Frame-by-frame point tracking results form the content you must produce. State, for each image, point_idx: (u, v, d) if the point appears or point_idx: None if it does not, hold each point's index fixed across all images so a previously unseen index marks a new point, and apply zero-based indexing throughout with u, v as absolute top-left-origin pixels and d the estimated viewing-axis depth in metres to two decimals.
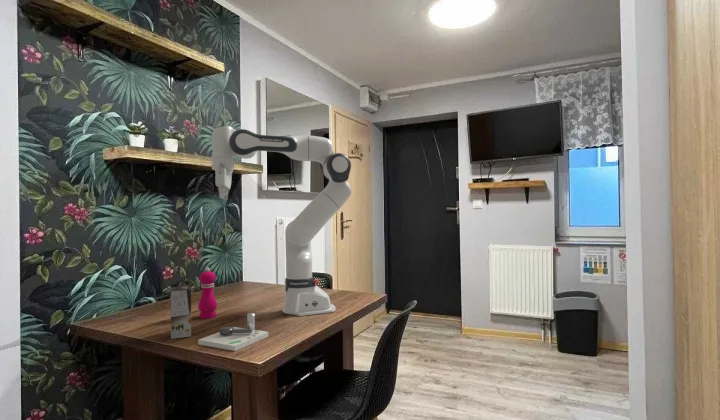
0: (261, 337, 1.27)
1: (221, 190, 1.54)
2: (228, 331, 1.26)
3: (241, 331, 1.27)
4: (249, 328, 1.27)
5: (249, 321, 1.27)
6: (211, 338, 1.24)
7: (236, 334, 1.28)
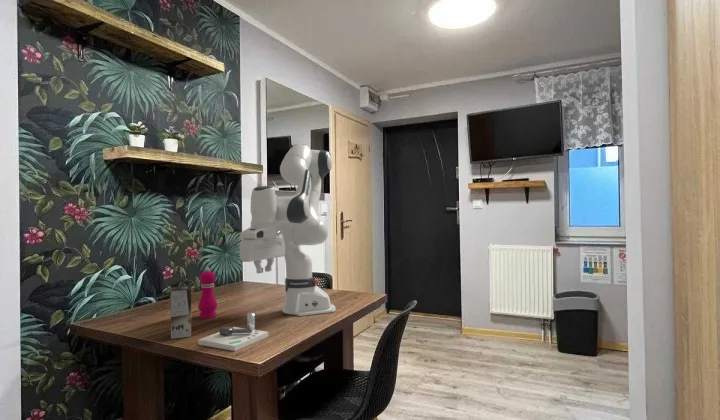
0: (261, 337, 1.27)
1: None
2: (228, 331, 1.26)
3: (241, 331, 1.27)
4: (249, 328, 1.27)
5: (249, 321, 1.27)
6: (211, 338, 1.24)
7: (236, 334, 1.28)
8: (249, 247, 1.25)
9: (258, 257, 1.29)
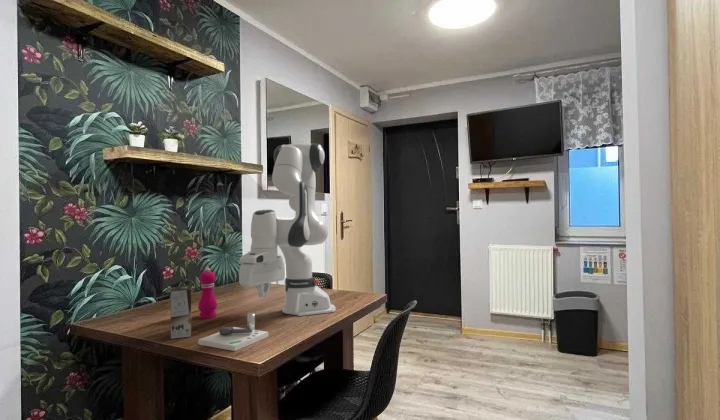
0: (261, 337, 1.27)
1: None
2: (228, 331, 1.26)
3: (241, 331, 1.27)
4: (249, 328, 1.27)
5: (249, 321, 1.27)
6: (211, 338, 1.24)
7: (236, 334, 1.28)
8: (249, 272, 1.24)
9: (258, 282, 1.28)
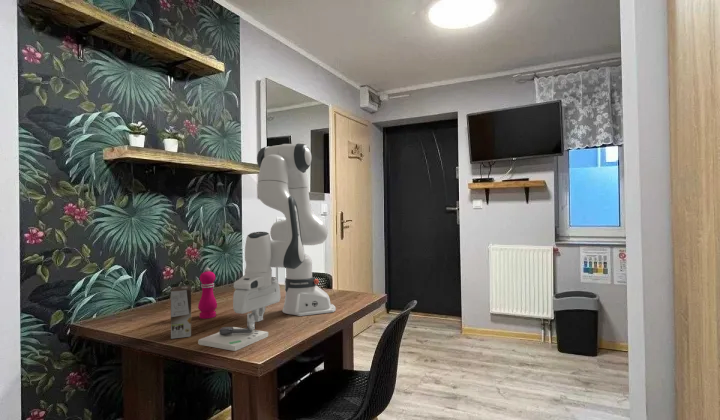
0: (261, 337, 1.27)
1: None
2: (228, 331, 1.26)
3: (241, 331, 1.27)
4: (249, 328, 1.27)
5: (249, 321, 1.27)
6: (211, 338, 1.24)
7: (236, 334, 1.28)
8: (243, 299, 1.21)
9: (252, 307, 1.26)
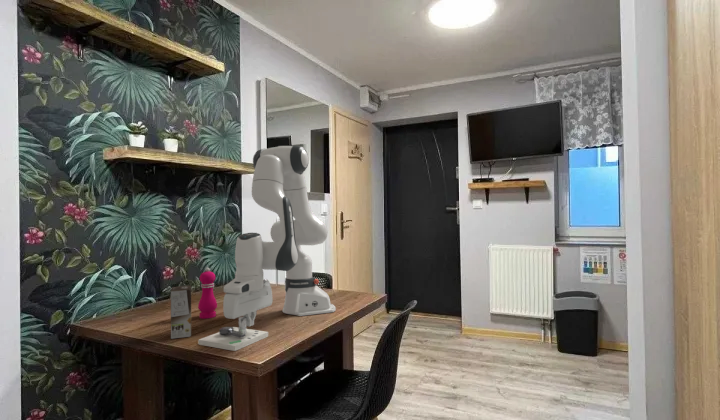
0: (261, 337, 1.27)
1: None
2: (223, 331, 1.25)
3: (234, 334, 1.24)
4: (239, 332, 1.22)
5: (239, 325, 1.22)
6: (211, 338, 1.24)
7: None
8: (234, 303, 1.16)
9: (243, 312, 1.20)
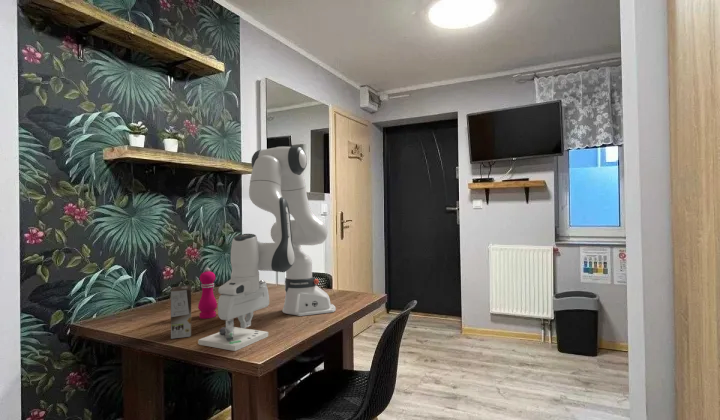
0: (261, 337, 1.27)
1: None
2: (220, 331, 1.26)
3: (225, 335, 1.23)
4: (225, 335, 1.20)
5: (225, 328, 1.20)
6: (211, 338, 1.24)
7: (236, 334, 1.28)
8: (228, 305, 1.16)
9: (238, 313, 1.20)
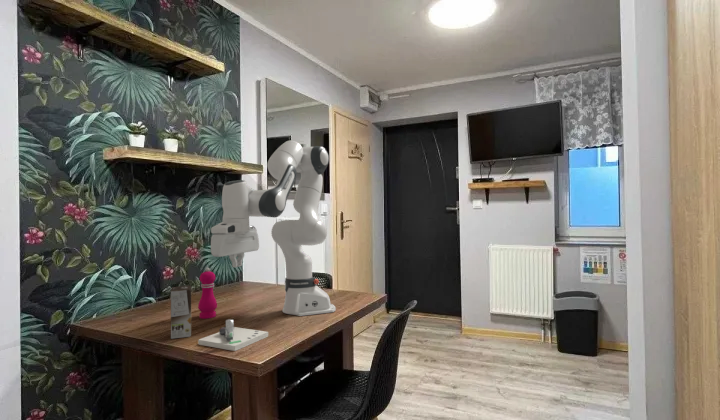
0: (261, 337, 1.27)
1: None
2: (220, 331, 1.26)
3: (225, 335, 1.23)
4: (225, 335, 1.20)
5: (225, 328, 1.20)
6: (211, 338, 1.24)
7: (236, 334, 1.28)
8: (220, 242, 1.24)
9: (230, 252, 1.29)
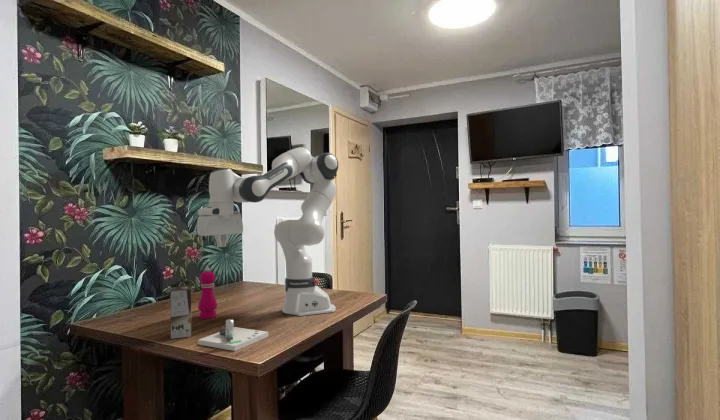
0: (261, 337, 1.27)
1: None
2: (220, 331, 1.26)
3: (225, 335, 1.23)
4: (225, 335, 1.20)
5: (225, 328, 1.20)
6: (211, 338, 1.24)
7: (236, 334, 1.28)
8: (205, 222, 1.38)
9: (214, 232, 1.43)
